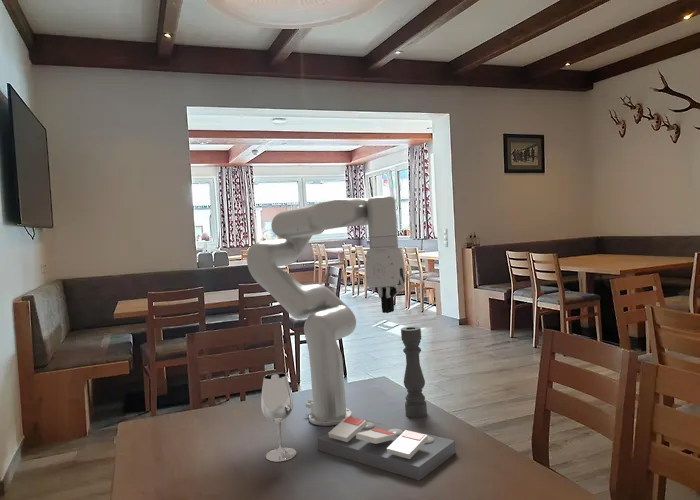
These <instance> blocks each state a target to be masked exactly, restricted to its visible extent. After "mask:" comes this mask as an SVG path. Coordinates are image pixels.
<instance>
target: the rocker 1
mask: <svg viewBox="0 0 700 500" xmlns="http://www.w3.org/2000/svg"><path fill="white" fill-rule="evenodd" d="M357 418H358V417H357ZM357 418H356V417H349V416H348V417H346V418H345V419H344V420H343V421H342V422H341V423H339V424H338V425H335V427H334V428H331V430H330V431H329V432H327V433H328V435H329V437H330V438H334V439H337V440H341V441H345V442H348V441H349V440H351V439H352V438H353V437H354V436H355V435H356V433H358V432H359V431H361V430H362V429H363V428H364V427H365V426H366V425H367V423H366V420H367V419H365V420H362V419H363V418H360V419H357Z"/></svg>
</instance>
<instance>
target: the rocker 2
mask: <svg viewBox="0 0 700 500" xmlns="http://www.w3.org/2000/svg"><path fill="white" fill-rule="evenodd" d="M356 439H360V440H364V441H367V442H371V443H375V444H377V443H381V442H385V441H389V440H393V439H396V434H395V433H393V432H389V431H385V430H380V429H374V430H369V431H365V432H360V433H356Z"/></svg>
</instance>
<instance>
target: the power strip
mask: <svg viewBox="0 0 700 500" xmlns="http://www.w3.org/2000/svg"><path fill="white" fill-rule="evenodd" d="M357 419H362V420H366V423H367V425H366V426H365V427H364V428H363V429H362V430H361V431H359V432H358V433H360V432H365V431H369V430H374V429H380V430H385V431H389V432H393V433H395V434H396V439H397V438H398V437H399V436H400V435H401V434H402V433H403V432H404V431H405V430H408V431H412V432H416V433H420V434H425V435H427V436H428V440H427V442H426V443H425V444H424V445H423V446H422V447H421V448H420V449H419V450H418V451H417V452H416V453H415V454H414V455H413V456H412V457H411V458H410V459H407V458H404V457H400V456H397V455H393V454H389V453H388V452H387V448H388V447H389V446H390V445H391V444H392V443H393V442H394V441H395V440H396V439H393V440H389V441H385V442H381V443H377V444H375V443H371V442H367V441H364V440H360V439H356V435H355V436H354V437H353V438H352V439H351V440H349V441H348V442H345V441H341V440H337V439H334V438H330V437H329V435H328V433H329V432H327V433H325V434H323V435H321V436H319V437H317V438H316V439H317V441H316V442H317V451H320V452H324V453H326V454H329V455H333V456H337V457H339V458H343V459H346V460H348V461H349V460H350V461H353V462H355V463H359V464H363V465H366V466H370V467H373V468H377V469H379V470H383V471H386V472H389V473H393V474H396V475H400V476H403V477H406V478H410V479H412V480H416V481H422V479H424V478H425V477H426V476H428V475H429V474H431V472H433V471H434V470H436V468H438V467H440V466H441V465H442V464H443V463H445V462H446V461H448V460H449V458H451V457H452V456H454V455H455V454H456V453H457V451H456V440H454V439H450V438H446V437H443V436H436V435H432V434H429V433H426V432H425V433H424V432H420V431H416V430H412V429H407V428H403V427H399V426H395V425H390V424H386V423H381V422H378V421H377V422H376V421H374V420H373V421H372V420H369V419H366V418H365V419H364V418H360V417H357Z"/></svg>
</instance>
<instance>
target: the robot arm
mask: <svg viewBox="0 0 700 500" xmlns="http://www.w3.org/2000/svg"><path fill="white" fill-rule="evenodd" d="M360 226H363V227H364V226H368V227H367V230H368V239H366V245H368V246H369V248H367V249H366V254H365V255H366V256H365V281H366V282H365V283H366V285H367V286H368V287H369V290H370V291H375V293H377V294H378V298H380V303H381V305H380V306H381V313H382V314H390V313H394V311H395V299H394V298H395V297H396V295H397V293H398V292H401V291H404V290H405V282H406V272H405V263H404V258H403V254H402V250H401V247H399V239H398V225H397V209H396V200H395V198H394V197H393V196H391V195H379V196H371V197H369V198H363V197H342V198H335V199H332V200H327V201H321V202H318V203H314V204H312V205H308V206H303V207H298V208H293V209H289V210H284V211H281V212H279V213H277V214H276V215H275V216H274V217H273V218H272V220H271V226H270V227H271V231H272V232H273V234H274V235H275V236H276V237H278V238H279V239H269V240H268V239H267V240H261V241H257V242H256V243H254V244H252V245H251V246H250V247H249V249H248V250H247V254H246V263H247V268H248V271H249V273H250V275H251V277H252V279H254V281H255V282H256V283H257V284H258V285H260V287H262V288H263V289H264V290H265V291H266V292H267V293H269V295H271V296H272V297H273V299H274V300H275V301H276V302H277V303H278V304H279V305H280V306H281V307H282V308H283V309H284V310H285V311H286V312H287V313H288V314H289V315H290V316H291V317H292V318H294V319H297V320H303V319H305V321H304V325H303V333H304V339H305V341H306V345H307V349H308V350H307V351H308V356H309V359H308V360H309V367H310V378H311V380H310V381H311V392H312V398H309V399H308V401H307V402H306V403H305V408H307V409H310V411H311V413H309V415H308V421H309V422H310V423H311V424H312V425H316V426H321V427H322V426H323V427H328V426H337V425H338V424H339V423H341V422H342V421H343V420H344V419H345V418H346V417H348V416H349V417H352V416H353V413H352V410H351V409H349V408H347V403H346V389H345V377H344V364H343V363H344V362H343V355H342V352H341V349H340V347H339V345H338V342H337V341H338V340H340V339H343V338H346V337H348V336H350V335H352V333H354V331H355V330H356V327H357V319H356V316H355V313H354V312H353V311H352V310H351V308H350V307H349V305H347V304H346V303H345V302H343V300H341V299H340V298H339V297H338V296H337V295H336V294H335V292H333V291H332V290H331V289H330V288H328V287H327V286H325V285H323V284H320V283H312V284H307V285H305V284H304V285H303V284H302V283H301V282H299V281H298V280H296V279H295V278H294V276H292V275H291V274H290V273H289V272H287V271H285V270H283V269H281V268H279V267H283V266H289V265H292V264H294V263H296V261H297V260H298V259H299V258H300V256H301V254H302V253H303V251H304V250H305V248H306V246H307V245H308V244H309V242H310V240H311V239H312V237H313V236H315V235H320V234H323V232H325V231H327V230H333V229H337V228H346V227H360Z"/></svg>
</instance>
